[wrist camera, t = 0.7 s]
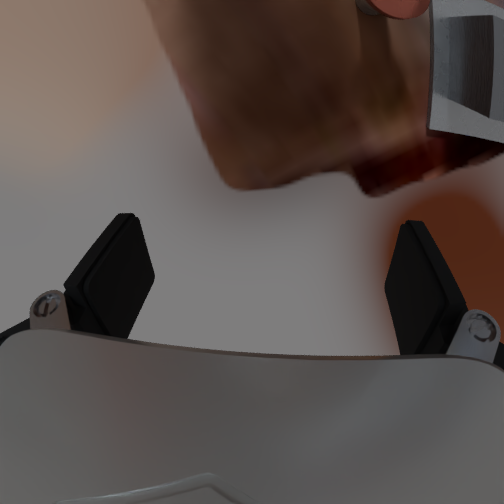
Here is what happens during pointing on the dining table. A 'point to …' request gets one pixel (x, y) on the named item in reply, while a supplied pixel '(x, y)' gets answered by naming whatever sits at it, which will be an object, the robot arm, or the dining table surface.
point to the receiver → (466, 68)
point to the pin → (393, 8)
